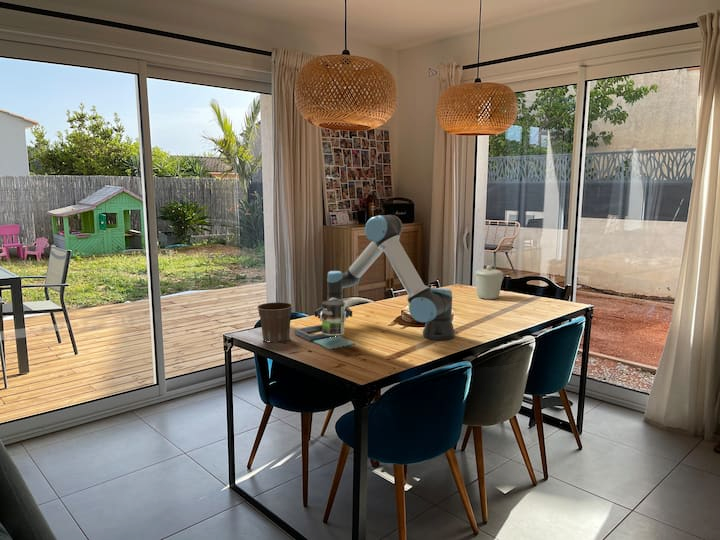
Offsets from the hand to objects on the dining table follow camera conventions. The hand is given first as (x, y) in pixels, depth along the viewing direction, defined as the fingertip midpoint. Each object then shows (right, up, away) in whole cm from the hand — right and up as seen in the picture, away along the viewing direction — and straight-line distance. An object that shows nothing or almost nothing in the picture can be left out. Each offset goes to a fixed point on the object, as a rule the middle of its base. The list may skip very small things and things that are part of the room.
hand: (332, 317), depth 240 cm
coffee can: (0, -7, +6) cm, 9 cm away
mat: (0, -12, +6) cm, 13 cm away
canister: (+94, +3, +105) cm, 141 cm away
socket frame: (-9, -10, +19) cm, 23 cm away
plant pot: (-27, -11, +12) cm, 32 cm away
